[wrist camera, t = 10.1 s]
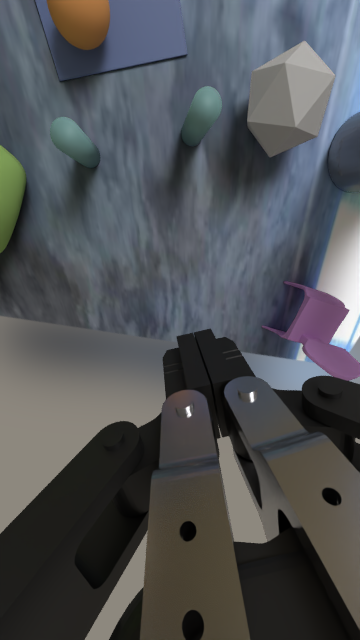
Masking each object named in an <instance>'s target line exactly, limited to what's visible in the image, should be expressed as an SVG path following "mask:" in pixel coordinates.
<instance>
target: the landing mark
mask: <svg viewBox="0 0 360 640" xmlns="http://www.w3.org/2000/svg"><path fill="white" fill-rule="evenodd" d="M35 1H36V5H37V8H38V11H39V14H40V18H41V21H42V24H43V28H44V31H45V34H46V37H47V41H48V44H49V47H50V50H51V54H52V57H53V60H54V64H55V67H56V70H57V73H58V77H59V80H60V81H65V80H70V79H75V78H79V77H84V76H89V75H94V74H99V73H103V72H108V71H113V70H118V69H123V68H127V67H132V66H137V65H142V64H147V63H151V62H156V61H161V60H166V59H170V58H175V57H180V56H185V55H187V48H186V41H185V34H184V27H183V19H182V12H181V5H180V0H108V1H109V6H110V24H109V29H108V33H107V35H106V37H105V39H104V41H103V42H102V43H101V44H100V45H99V46H98V47H96V48H94V49H91V50H83V49H79V48H77V47H75V46H73V45H72V44H70V43H69V42H68V41H67V40H66V39H65V38H64V37H63V36H62V35H61V33H60V32H59V31H58V29H57V27H56V26H55V24H54V22H53V20H52V18H51V15H50V12H49V9H48V5H47V1H46V0H35Z"/></svg>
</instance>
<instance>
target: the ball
mask: <svg viewBox="0 0 360 640" xmlns="http://www.w3.org/2000/svg"><path fill="white" fill-rule="evenodd" d="M46 1H47V5H48V9H49V12H50V15H51V18H52V20H53V22H54V24H55V26H56V27H57V29H58V31H59V32H60V33H61V35H62V36H63V37H64V38H65V39H66V40H67V41H68V42H69V43H70V44H72V45H73V46H75V47H77V48H79V49H83V50H91V49H94V48H96V47H98V46H99V45H100V44H101V43H102V42H103V41H104V39H105V37H106V35H107V33H108V29H109V24H110V6H109V1H108V0H46Z"/></svg>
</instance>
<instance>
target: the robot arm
mask: <svg viewBox="0 0 360 640" xmlns="http://www.w3.org/2000/svg"><path fill="white" fill-rule="evenodd" d="M328 166H329V172H330V176H331V178H332V180H333V182H334V183H335V184H336V186H337V187H338V188H340V189H342V190H343V191H346V192H360V112H359V113H357V114H355V115H353V116H352V117H351V118H349V119H348V120H347V121H346V122H345V123H344V124H343V125H342V126H341V128H340V129H339V131H338V132H337V134H336V135H335V138H334V140H333V142H332V145H331V148H330V151H329V158H328ZM194 336H195V337H194ZM177 341H178V346H179V348H175V349H171V350H167V351H166V353H165V355H164V357H163V367H164V380H165V391H166V400H165V402H164V403H163V406H162V412H161V413H160V414H159V415H158V416H157V417H156V418H155V419H154V420H152V421H151V422H149V423H147V424H145V425H143V426H141V427H139V428H137V427H136V425H134V424H133V423H131V422H127V421H120V422H116V423H113V424H110V425H108V426H107V427H105V428H104V429H102V430H101V431H100V432H99V433H98V434H97V435H96V436H95V437H94V438H93V439H92V440H91V441H90V442H89V443H88V444H87V445H86V446H85V447H84V448H83V449H82V450H81V451H80V452H79V453H78V454H77V455H76V456H75V457H74V458H73V459H72V460H71V461H70V462H69V464H68V465H67V466H66V467H65V468H64V469H63V470H62V471H61V472H60V473H59V474H58V475H57V476H56V477H55V478H54V479H53V480H52V481H51V482H50V483H49V484H48V485H47V486H46V487H45V488H44V489H43V490H42V491H41V492H40V493H39V494H38V496H36V498H35V499H34V500H33V501H32V502H31V503H30V504H29V505H28V506H27V507H26V508H25V509H24V510H23V511H22V512H21V513H20V514H19V515H18V516H17V517H16V518H15V519H14V520H13V521H12V522H11V523H10V524H9V525H8V527H6V528H5V530H4V531H3V532H2V533H1V534H0V640H84V639H85V638H86V636H87V634H88V633H89V631H90V629H91V627H92V626H93V624H94V622H95V620H96V619H97V617H98V615H99V613H100V612H101V610H102V608H103V606H104V605H105V603H106V601H107V600H108V598H109V596H110V594H111V593H112V591H113V589H114V587H115V586H116V584H117V582H118V581H119V579H120V577H121V575H122V574H123V572H124V570H125V569H126V567H127V565H128V563H129V562H130V559H131V558H132V556H133V555H134V553H135V551H136V549H137V548H138V546H139V544H140V543H141V541H142V539H143V537H144V536H145V534H146V532H147V530H148V533H147V547H146V562H145V576H144V587H143V588H142V589H141V590H140V592H139V593H138V594H137V595H136V596H135V598H134V599H133V600H132V602H131V603H130V604H129V605H128V607H127V609H126V610H125V612H124V613H123V615H122V617H121V618H120V620H119V622H118V623H117V625H116V627H115V629H114V631H113V633H112V635H111V637H110V639H109V640H360V444H358V443H356V442H355V438H358V439H360V384H356V383H353V382H350V381H347V380H343V379H340V378H336V377H331V376H316V377H313V378H310V379H308V380H307V381H305V382H304V384H303V386H302V391H297V390H296V391H294V390H293V391H292V390H290V391H289V390H288V391H287V390H276V389H273V388H271V387H270V386H269V385H268V383H267V382H265V381H264V380H262V379H260V378H257V377H256V376H255V375H254V373H253V372H252V370H251V369H250V367H249V365H248V364H247V362H246V361H245V359H244V357H243V356H242V354H241V352H240V351H239V350H238V348H237V346H236V344H235V343H234V342H233V341H232V340H230V339H228V338H226V337H223V338H218V339H216V338H215V336H214V334H213V332H212V330H211V329H207V330H202V331H198V332H194V335H193V333H190V334H185V335H181V336H177ZM218 425H219V427H218ZM219 428H220V431H221V435H222V437H226V436H229V437H230V439H231V442H232V445H233V451H234V457H235V460H236V462H237V464H238V467H239V469H240V471H241V474H242V476H243V478H244V481H245V483H246V485H247V488H248V490H249V492H250V495H251V497H252V499H253V502H254V504H255V506H256V509H257V511H258V513H259V516H260V519H261V521H262V524H263V528H264V531H265V535H266V538H267V541H268V542H266V543H263V544H258V543H245V542H234V538H233V533H232V528H231V523H230V517H229V512H228V507H227V502H226V496H225V491H224V485H223V480H222V475H221V470H220V464H219V449H218V443H217V438H220V433H219Z"/></svg>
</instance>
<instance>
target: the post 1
mask: <svg viewBox="0 0 360 640" xmlns="http://www.w3.org/2000/svg"><path fill="white" fill-rule="evenodd" d="M50 135H51V139H52V141H53V143H54V145H55V146H56V147H57V148H58V149H59V150H60V151H62V152H64V153H65V154H67V155H68V156H70V157H71V158H73V159H74V160H76V161H77V162H79V163H81V164H82V165H84V166H85V167H87V168H94V167H96V166H97V165H98V164H99V162H100V153H99V150H98V148H97V147H96V146H95V145H94V144H93V143H92V141H91V140H90V139H89V138H88V137H87V136H86V134H85V133H84V132H83V131H82V130H81V129H80V128H79V126H78V125H77V124H76V123H75V122H74V121H73V120H71V119H69V118H67V117H59V118H57V119H55V120H54V121H53V123H52V125H51V128H50Z"/></svg>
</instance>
